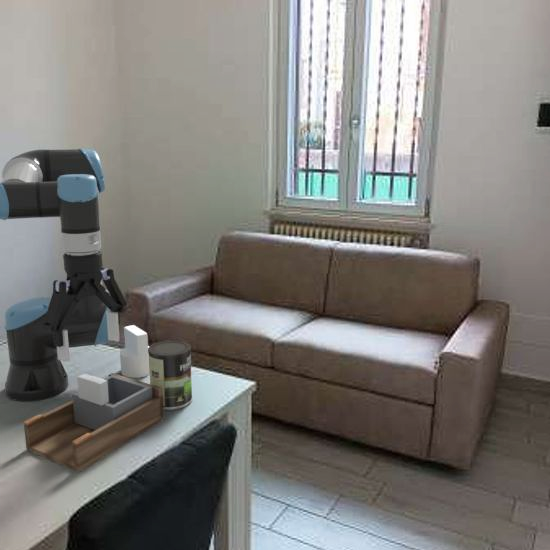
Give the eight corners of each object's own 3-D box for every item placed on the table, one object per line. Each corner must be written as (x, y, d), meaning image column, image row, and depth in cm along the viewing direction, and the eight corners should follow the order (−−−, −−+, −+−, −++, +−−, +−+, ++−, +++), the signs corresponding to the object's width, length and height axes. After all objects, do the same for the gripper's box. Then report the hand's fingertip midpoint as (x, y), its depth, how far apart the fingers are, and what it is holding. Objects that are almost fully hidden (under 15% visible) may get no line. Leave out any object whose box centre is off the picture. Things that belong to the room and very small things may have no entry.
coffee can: (198, 393, 150) (196, 341, 147) (184, 412, 140) (182, 357, 137) (160, 389, 152) (157, 338, 149) (143, 408, 142) (140, 353, 139)
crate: (72, 423, 132) (68, 373, 129) (114, 401, 142) (111, 355, 139) (113, 438, 126) (109, 386, 123) (153, 414, 136) (151, 366, 133)
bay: (26, 449, 124) (22, 414, 122) (114, 403, 145) (112, 373, 143) (78, 472, 116) (75, 435, 114) (164, 419, 137) (162, 388, 135)
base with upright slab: (115, 369, 165) (113, 329, 162) (145, 362, 170) (143, 322, 167) (129, 380, 158) (126, 338, 155) (159, 372, 163) (157, 331, 160)
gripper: (42, 265, 107) (53, 373, 112) (139, 243, 128) (144, 335, 133) (16, 260, 111) (27, 365, 116) (114, 240, 132) (120, 330, 137)
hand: (90, 349), depth 125 cm, fingers open, 13 cm apart
